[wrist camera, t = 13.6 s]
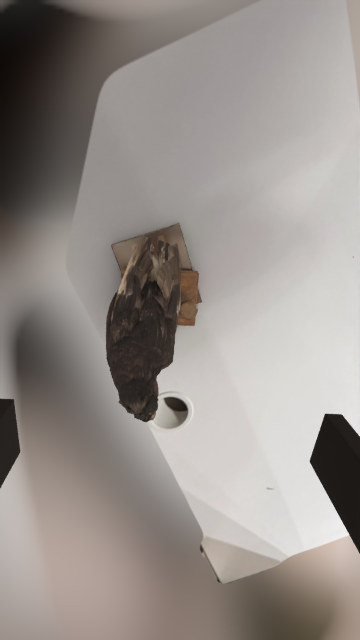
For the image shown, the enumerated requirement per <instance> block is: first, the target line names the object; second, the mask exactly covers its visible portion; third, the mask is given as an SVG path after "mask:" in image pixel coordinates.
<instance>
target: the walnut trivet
mask: <svg viewBox="0 0 360 640" xmlns="http://www.w3.org/2000/svg"><path fill="white" fill-rule="evenodd" d="M145 235H147V236H150V237H151V238H152V245H153V247H154V250H155V253H156V254H157V257H158V251H157V248H158V246H157V241H158V240H161V241H163V242H164V248H165V246H166V243H169V244H170V245H173V246H174V244H176V243H177V244H178V248H179V257H180V260H179V261H180V270H182V271H193V270H192V266H191V263H190V259H189V256H188V252H187V249H186V245H185V242H184V238H183V235H182V232H181V228H180V225H179V223H178V224H175V225H172V226H169V227H165V228H162V229H159V230H156V231H153V232H150V233H147V234H143V235H140V236H137V237H134V238H131V239H128V240H125V241H121V242H118V243H115V244H112V245H111V246H112V249H113V251H114V254H115V257H116V259H117V262H118V265H119V267H120V270H121V271H122V269H123V268H127V265H128V262H129V260H130V257H131V255H132V253H133V251H134V248H135V246H136V244H137V245H138V247H137V251H136V253H135V256H134V260H135V258H136V255H137V253H138V250H139V248H140V246H141V244H142V242H143V240H144V236H145ZM164 256H165V255H164ZM200 302H202V301H201V297H200V294H199V290H198V289H197V302H196V304H197V303H200Z"/></svg>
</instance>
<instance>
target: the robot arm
mask: <svg viewBox="0 0 360 640" xmlns="http://www.w3.org/2000/svg"><path fill="white" fill-rule="evenodd" d="M19 453H20V446H19V438H18V430H17V422H16V414H15V406H14V399H0V488H1V486H2V484H3V482H4V480H5V478H6V476H7V475H8V473H9V471H10V469H11V468H12V466H13V464H14V462H15V460H16V459H17V457H18V455H19ZM310 463H311V465H312V467H313V469H314V471H315V472H316V474H317V476H318V478H319V480H320V482H321V483H322V485H323V487H324V489H325V491H326V493H327V494H328V496H329V498H330V500H331V502H332V504H333V505H334V507H335V509H336V511H337V513H338V515H339V516H340V518H341V520H342V522H343V524H344V526H345V527H346V529H347V531H348V533H349V535H350V537H351V538H352V540H353V542H354V544H355V546H356V547H357V549H358V551H359V553H360V436H359V435H358V434H357V433H356V432H355V430H354V429H353V428H352V427H351V425H350V424H349V423H348V422H347V420H346V419H345V418H344V417H343V415H341V414H325V416H324V419H323V422H322V425H321V428H320V431H319V434H318V437H317V440H316V443H315V446H314V449H313V452H312V455H311V459H310Z"/></svg>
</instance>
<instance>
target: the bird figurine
mask: <svg viewBox="0 0 360 640" xmlns="http://www.w3.org/2000/svg"><path fill="white" fill-rule="evenodd" d="M157 246H158V248H157V251H158V257H157V254H156V253H155V250H154V247H153V245H152V238H151V237H150V236H147V235H145V236H144V240H143V242H142V244H141V246H140V248H139V250H138V253H137V255H136V258H135V260H134V256H135V253H136V251H137V247H138V245H137V244H136V246H135V248H134V251H133V253H132V255H131V257H130V260H129V262H128V265H127V268H123V269H122V271H121V273H122V282H121V284H120V287H119V290H118V291H117V292H116V293H115V295H114V297H113V299H112V301H111V303H110V306H109V311H108V315H107V322H106V350H107V361H108V365H109V367H110V371H111V375H112V378H113V381H114V384H115V386H116V388H117V390H118V392H119V399H120V401H119V403H120V404H122V406H123V407H125V408H126V410H127V412H128V413H131V414H134V417H135V418H137V419H140V420H142V421H144V422H148V421H149V420H153V419H154V417H155V415H156V410H157V409H158V403H157V401H158V399H157V397H158V384H157V381H156V378H157V375H158V374H159V373H160V371H161V370H162V369H164V368H166V367H168V366H169V365H170V364H171V363H172V362H173V354H174V344H175V333H176V328H177V325H185V326H194V325H195V316H196V313H197V309H196V302H197V289H198V277H199V274H198V272H197V271H182V270H180V261H179V260H180V257H179V248H178V244H177V243H176V244H174V246H173V245H170V244H169V243H166V246H165V248H164V242H163V241H161V240H158V241H157ZM164 255H165V256H164Z"/></svg>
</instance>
